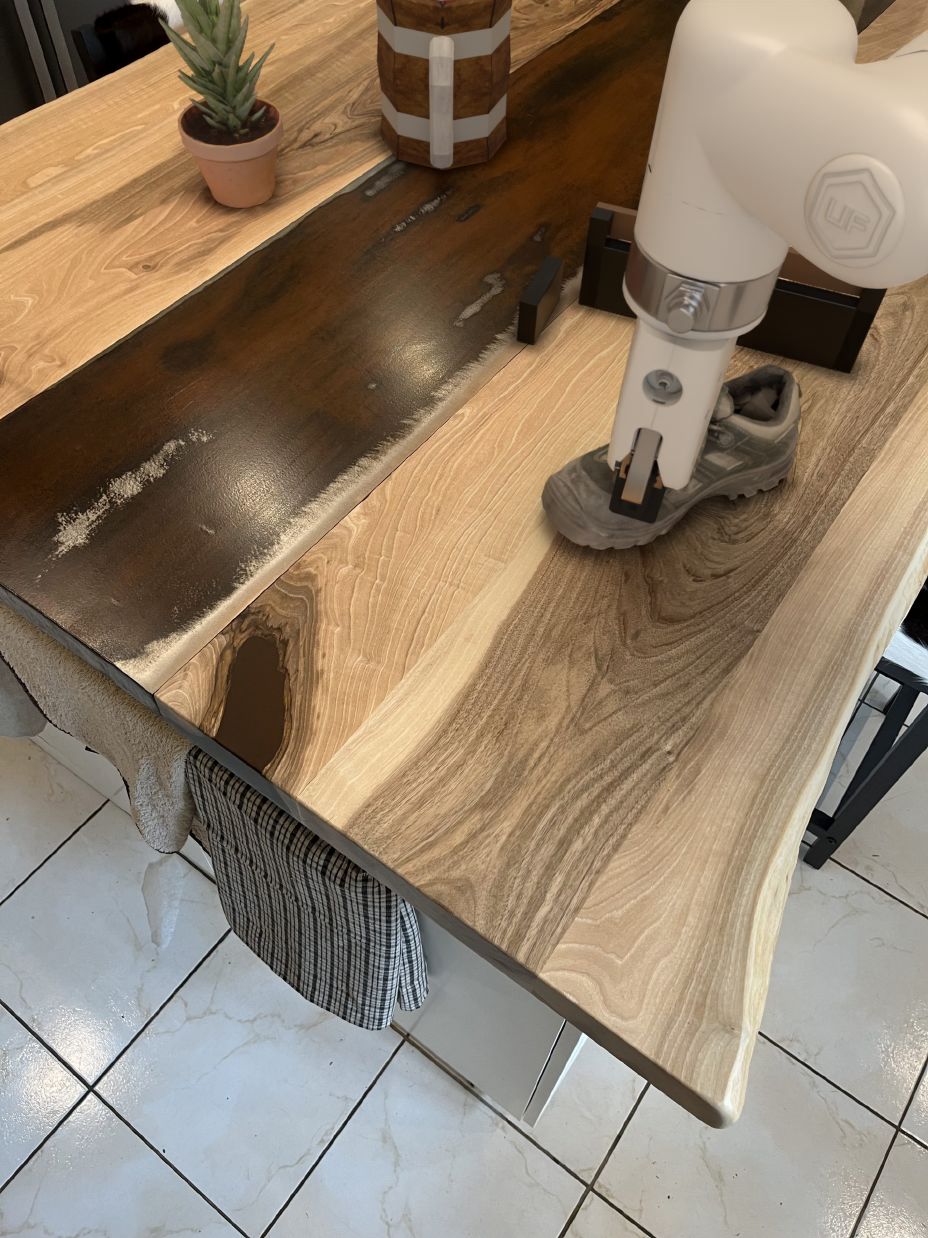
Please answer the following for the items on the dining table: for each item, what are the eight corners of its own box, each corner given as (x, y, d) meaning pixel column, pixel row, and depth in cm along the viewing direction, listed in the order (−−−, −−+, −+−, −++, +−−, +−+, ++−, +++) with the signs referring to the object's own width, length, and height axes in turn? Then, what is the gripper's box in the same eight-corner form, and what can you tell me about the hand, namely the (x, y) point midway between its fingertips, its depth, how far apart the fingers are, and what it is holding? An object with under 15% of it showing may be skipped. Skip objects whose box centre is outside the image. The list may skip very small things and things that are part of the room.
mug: (384, 103, 104) (376, -55, 92) (505, 106, 104) (514, -51, 92) (372, 201, 93) (362, 36, 80) (509, 204, 93) (519, 40, 81)
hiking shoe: (504, 463, 69) (576, 399, 58) (725, 400, 77) (825, 333, 66) (549, 581, 68) (630, 538, 57) (766, 505, 76) (875, 455, 65)
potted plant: (213, 228, 90) (147, -78, 69) (181, 180, 94) (110, -120, 74) (310, 202, 92) (274, -100, 72) (274, 157, 97) (230, -138, 77)
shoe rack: (854, 356, 80) (892, 269, 73) (836, 427, 75) (876, 340, 68) (551, 279, 86) (561, 192, 79) (516, 340, 81) (523, 252, 74)
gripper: (746, 381, 43) (661, 612, 58) (798, 209, 51) (712, 451, 66) (588, 339, 44) (546, 575, 59) (664, 177, 52) (610, 421, 67)
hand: (634, 509), depth 63 cm, fingers closed
